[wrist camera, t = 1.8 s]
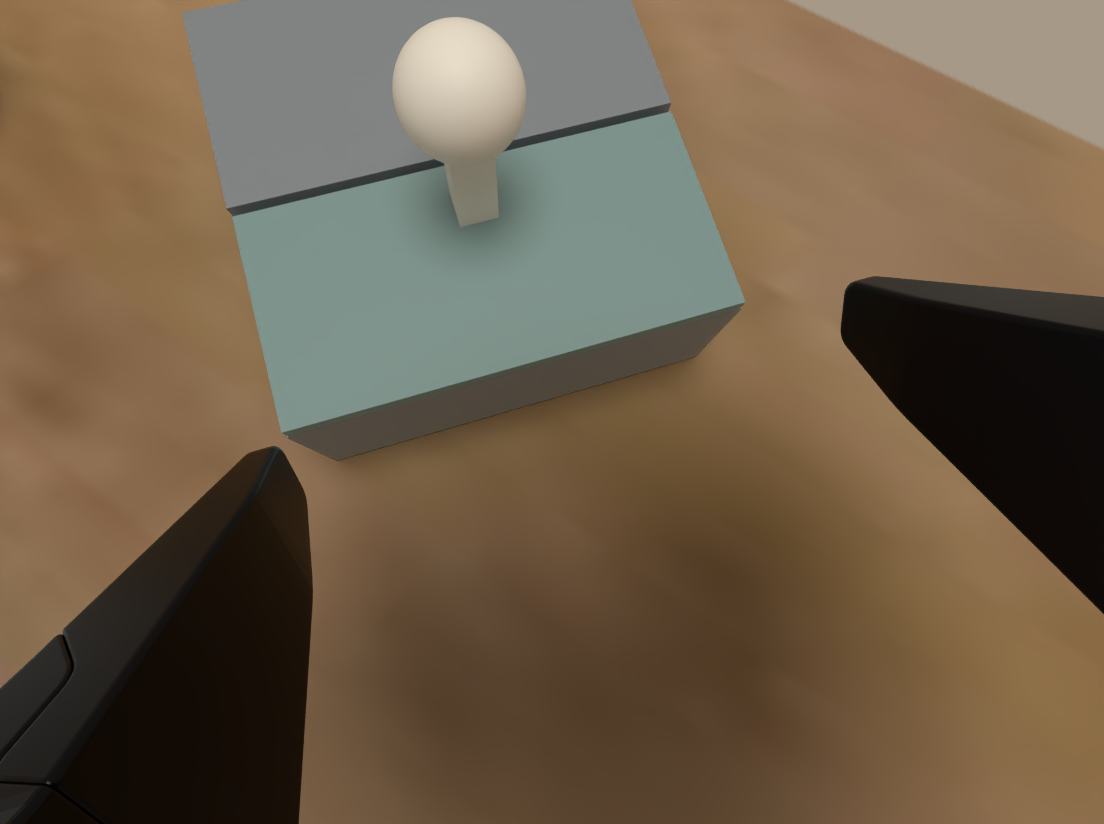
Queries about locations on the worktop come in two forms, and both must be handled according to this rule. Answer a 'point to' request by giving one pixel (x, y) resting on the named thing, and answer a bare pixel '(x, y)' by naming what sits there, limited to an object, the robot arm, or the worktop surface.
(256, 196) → the carton
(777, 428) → the worktop surface
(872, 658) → the worktop surface
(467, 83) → the near flap
